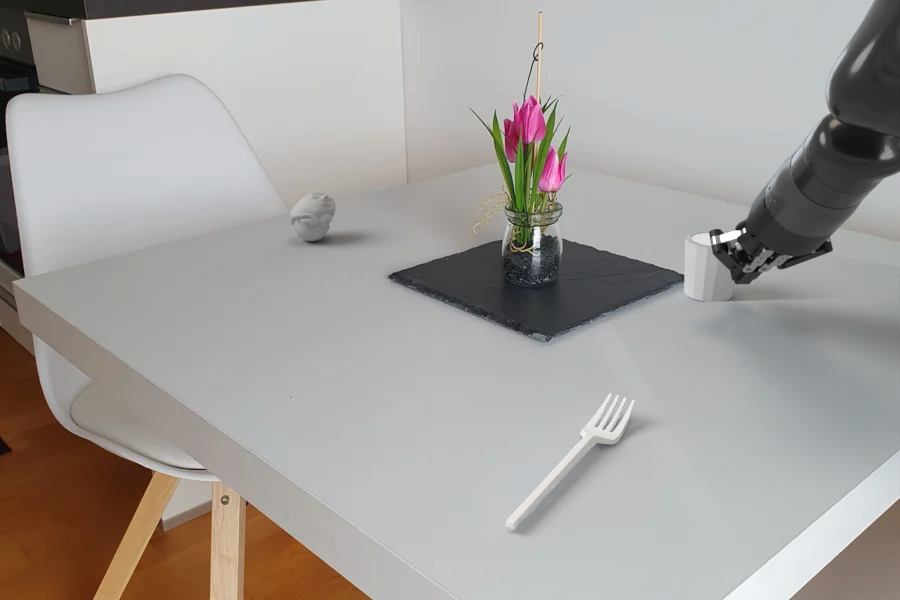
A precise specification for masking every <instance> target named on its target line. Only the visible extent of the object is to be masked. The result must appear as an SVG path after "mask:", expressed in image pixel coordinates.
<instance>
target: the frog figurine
mask: <svg viewBox="0 0 900 600" xmlns="http://www.w3.org/2000/svg"><path fill="white" fill-rule="evenodd" d="M336 207H337V206H336V202H335V200H334V197H333V198H332V197H331V196H330V195H328V194H325V193H324V192H322V191H318V190H312V191H309V192H307V194H306V195H305V196H304V197H303V198H300V200H298V202H296V204H295V205H294V207H293V208H292V209H291V210H290V214H289V220H290V224H291V226H293V227H294V231H295V232H296V234H297V236H299V237H300V238H301V239H302V240H304V241H308V242H316V241H319V240H321V239H323V238H325V236H326V235H327V233H328V231H329V230H330V228H331V226H330V224H331V222H333V217H335V214H336Z"/></svg>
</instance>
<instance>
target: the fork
mask: <svg viewBox="0 0 900 600" xmlns="http://www.w3.org/2000/svg"><path fill="white" fill-rule="evenodd" d="M612 396H613V393H612V392H609V394H608V395H607V397H606V398H605V399H604V401H603V402H602V404H601V405H600V407H599V408H598V410H597V411H596V412H595V413H594V415H593V416H592V417H591V419H590V420H589V421H588V422H587V423H586V425H584V427H583V428H582V429H581V430H580V432H579V436H580V437H582V438H581V439H580V440H579V441H578V442H577V443H576V444H575V446H574V447H573V448H572V449H571V450H570V451H569V452H568V453H567V454H566V455H565V457H563V458H562V460H560V462H559V463H558V464H556V465H555V467H554V468H553V469H552V471H551V472H549V473H548V474H547V475H546V477H545V478H544V479H543V480H542V481H541V482H540V483H539V484H538V485H537V486H536V488H534V490H533V491H532V492H531V493H530V494H529V495H528V496H527V497H526V499H524V501H522V503H521V504H520V505H519V506H518V507H517V508H516V509H515V510H514V511H513V513H512V514H511V515H510V516H509V517H508V518H507V519H506V522H505V527H506V528H508V529H511V530H515V529H516V528H517V527H518V526H519V525H520V524H521V523H522V521H523V520H524V519H526V517H527V516H529V514H530V513H531V512H532V511H533V510H534V509H535V508H536V507H537V506H538V505H539V504H540V503H541V502H542V500H544V499H545V498H546V496H548V494H550V492H551V491H552V490H553V489H554V488H555V487H556V486H557V485H558V484H559V483H560V482H561V481H562V480H563V478H565V476H566V475H568V473H570V471H571V470H572V469H573V468H574V467H575V466H576V465H577V464H578V463H579V462H580V461H581V460H582V458H584V457H585V455H586V454H587V453H588V452H590V450H591V449H592V448H593V447H594V446H595V445H596V444H602V445H603V444H605V445H616V444H617V443H619V442H620V440H621V439H622V437H623V435H624V433H625V432H626V429H627V427H628V425H629V422H630V419H631V416H632V412H633V410H634V406H635V402H636V400H635V399H632V400H631V402H630V404H629V406H628V408H627V410H626V412H625V413H624V415H623V417H622V418H621V420H620V421H619V418H620V415H621V414H622V412H623V409H624V407H625V404H626V401H627V397H626V396H625V397H623V399H622V401H621V403H620V405H619V406H618V407H617V410H616V411H615V408H616V405H617V403H618V401H619V399H620V395H619V394H616V395H615V398H614V399H613V401H612V403H611V405H610V407H609V409H608V410H607V412H606V414H605V415H604V413H605V411H606V409H607V407H608V405H609V402H610V401H611V398H612ZM614 411H615V413H614ZM613 413H614V415H613V417H612V414H613ZM603 415H604V417H603ZM602 417H603V418H602ZM611 417H612V418H611ZM610 418H611V420H610ZM601 419H602V420H601ZM609 421H610V422H609ZM618 421H619V423H618V424H617V422H618ZM616 424H617V426H616ZM615 426H616V427H615Z"/></svg>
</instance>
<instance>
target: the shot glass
mask: <svg viewBox="0 0 900 600" xmlns="http://www.w3.org/2000/svg"><path fill="white" fill-rule="evenodd" d="M710 231H711V230H708V231H707V230H705V231H702V230H701V231H694V232H690V233H687V234H686V235H685V236H684V237H685V239H684V277H683V279H684V280H683V281H684V282H683V286H684V287H683V293H684V295H686V296H687V297H689V298H690V299H693V300H695V301H699V302H705V303H714V302H715V303H716V302H718V303H719V302H728V301H729V300H731V299H732V297H733V294H734V290H735V285H736V284H735V282H734V280H732V278H731V272H730V270H729V269H728V268H727V267H726V266H724V265H723V264H722V263H721V262H720V261H719V260H718V259H717V258H716V257H715V256H714V255H713V252H712V247H711V241H710V235H709V232H710ZM735 245H736V247H737V249H738V250H739V249H740V248H741V246H740V244H739V243H738V242H737V243H736V244H735Z"/></svg>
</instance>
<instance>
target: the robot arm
mask: <svg viewBox="0 0 900 600" xmlns="http://www.w3.org/2000/svg"><path fill="white" fill-rule="evenodd" d="M824 94H825V102H826V107H827V109H828V111H829V113H828V114H826V115H825V116H823V117H822V118H821V119H820V120H819V121H818V122H817V123H816V124H815V126H814V127H813V128H812V129H811V131H810V132H809V133H808V135H807V136H806V137H805V138H804V139H803V141H802V142H801V144H799V146H798V148H797V149H796V150H795V151H794V152H793V153H792V154H791V155H789V156H788V157H787V158H786V159H785V160H784V161H783V163H782V164H781V165H780V166H779V167H778V169H777V170H776V171H775V172H774V173H773V175H772V177H771V178H770V179H769V181H768V182H767V183H766V184H765V186H764V187H763V188H762V190H761V191H760V193H759V194H758V195H757V196H756V197H755V199H754V200H753V202H752V204H751V206H750V209H749V212H748V214H747V217H746V218H745V219H743V220H741V221H739V222H738V223H737V224H736V225H735V228H734V230H731V231H723V230H722V229H720V228H714V229H711V230H709V231H710V232H709V235H710V241H711V247H712V252H713V255H714V256H715V257H716V258H717V259H718V260H719V261H720V262H721V263H722V264H723V265H724V266H726V267H727V268H728V269H729V270H730V272H731V278H732V280H734V282H735V285H750V284H752V282H753V281H755V280H757V279H758V278H759V276H761V275H762V274H763V273H767V272H769V271H770V270H772V269H773V268H774V267H776V268H777V270H786V269H788V268H791V267H793V266H797V265H799V264H803V263H805V262H807V261H811V260H813V259H816V258H819V257H821V256H823V255H826V254H829V253H831V252H833V251H834V247H833V243H832V240H831V239H832V238H831V236H833V234H834V233H836V232H837V230H838V229H840V227H841V226H842V225H843V224H844V223H846V222H847V220H848V219H849V218H851V216H852V215H853V214H854V213H855V212H856V211H857V210H858V208H859V206H860V205H861V203H862V202H863V201H864V199H865V198H867V196H868V195H869V194H871V193H872V191H874V189H876V188H877V187H878V186H879V185H880V184H881V182H882V181H883V180H884V179H887V178H889V177H891V176H895V175H896V174H899V173H900V0H873V2H872V4H871V6H870V7H869V9H868V11H867V13H866V14H865V16H864V18H863V20H862V21H861V23H860V24H859V26H858V27H857V29H856V31H855V32H854V33H853V35H852V36H851V37H850V39H849V41H848V43H847V44H846V45H845V47H844V49H843V50H842V52H840V54H839V56H838V58H837V59H836V60H835V62H834V64H833V66H832V68H831V69H830V71H829V74H828V77H827V80H826V84H825V93H824ZM737 242H738V243H739V244H740V246H741V248H740V249H739V250H738V249H737V247H736V245H735V244H736V243H737Z"/></svg>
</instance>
